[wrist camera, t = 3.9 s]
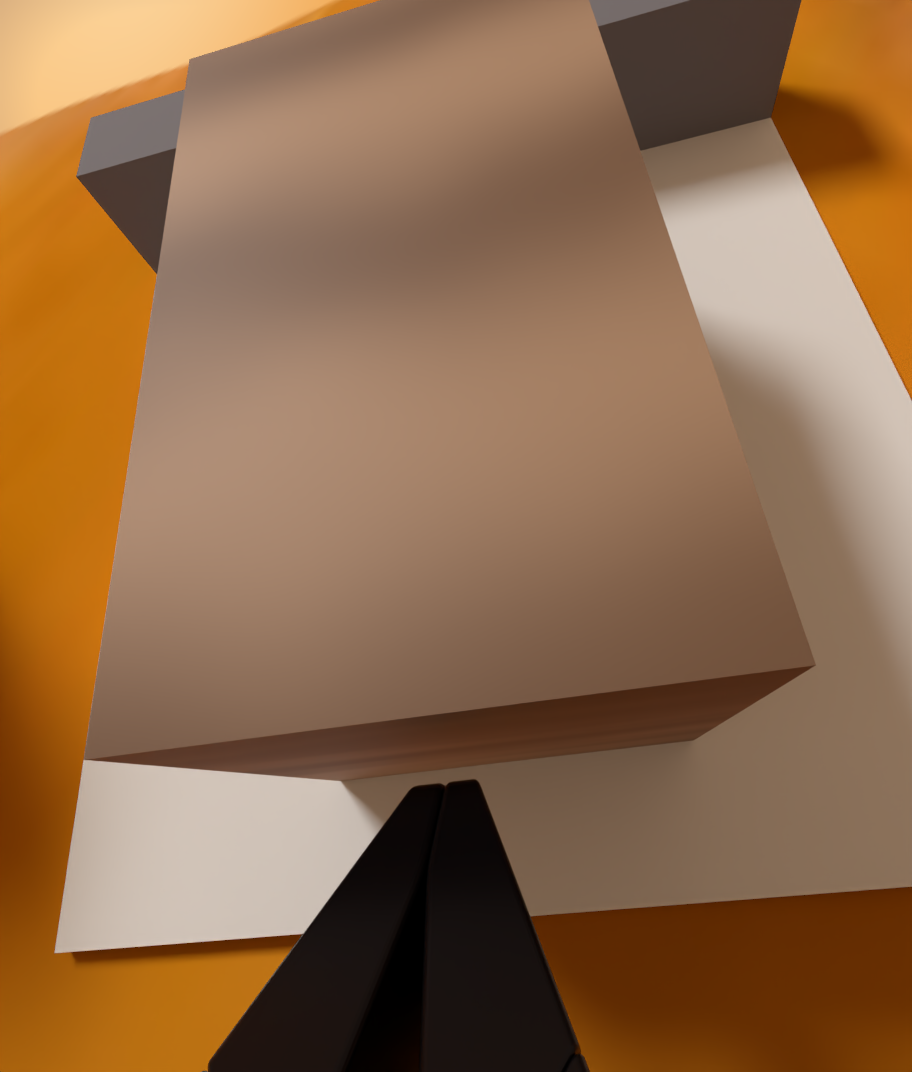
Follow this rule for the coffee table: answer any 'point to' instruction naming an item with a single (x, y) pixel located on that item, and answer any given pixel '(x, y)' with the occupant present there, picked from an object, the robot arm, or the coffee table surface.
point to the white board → (792, 515)
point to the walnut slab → (427, 422)
